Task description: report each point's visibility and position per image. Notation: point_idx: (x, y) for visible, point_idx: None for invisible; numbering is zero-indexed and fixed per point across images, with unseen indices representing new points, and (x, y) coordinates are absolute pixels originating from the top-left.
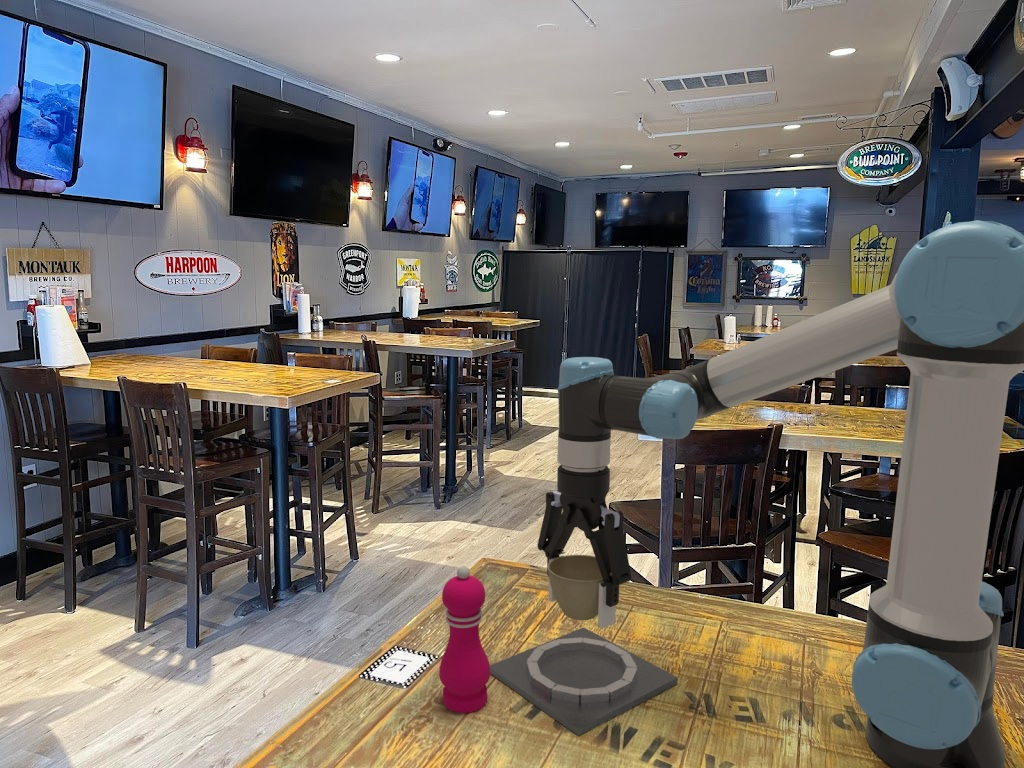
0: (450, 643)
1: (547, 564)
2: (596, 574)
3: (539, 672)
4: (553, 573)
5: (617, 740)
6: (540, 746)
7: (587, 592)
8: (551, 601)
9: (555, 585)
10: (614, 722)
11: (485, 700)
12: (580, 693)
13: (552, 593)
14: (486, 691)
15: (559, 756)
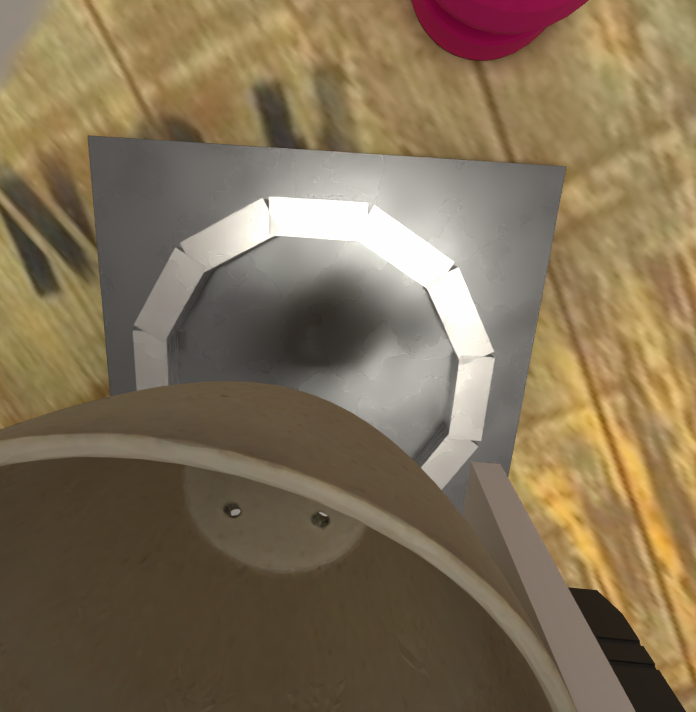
0: None
1: (667, 689)
2: None
3: (368, 243)
4: (221, 462)
5: (29, 214)
6: (128, 3)
7: None
8: (475, 462)
9: (235, 396)
10: (96, 273)
11: (417, 7)
12: (184, 254)
13: (483, 494)
14: (428, 9)
15: (58, 15)
